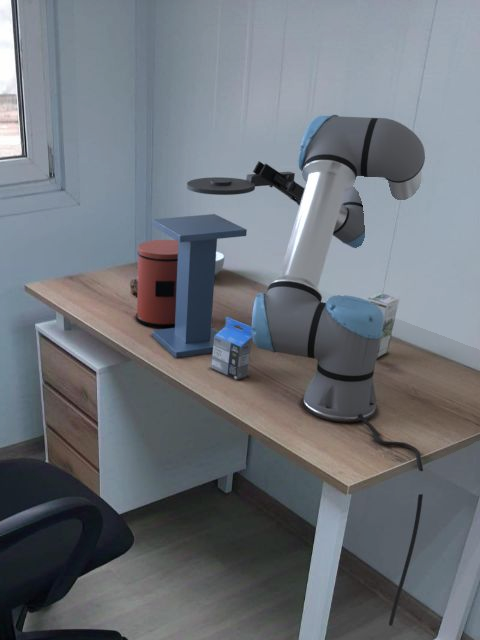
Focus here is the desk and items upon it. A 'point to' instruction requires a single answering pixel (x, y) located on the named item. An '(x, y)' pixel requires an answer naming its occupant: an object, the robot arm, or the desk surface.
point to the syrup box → (385, 318)
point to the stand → (194, 281)
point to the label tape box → (232, 349)
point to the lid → (231, 184)
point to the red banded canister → (157, 283)
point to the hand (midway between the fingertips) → (259, 168)
